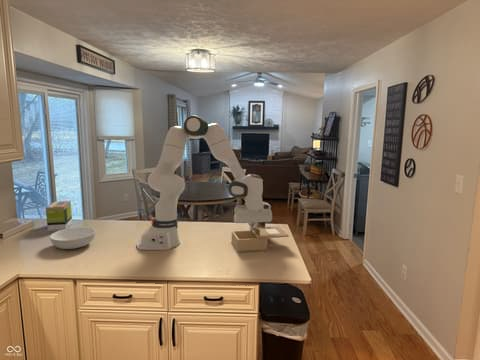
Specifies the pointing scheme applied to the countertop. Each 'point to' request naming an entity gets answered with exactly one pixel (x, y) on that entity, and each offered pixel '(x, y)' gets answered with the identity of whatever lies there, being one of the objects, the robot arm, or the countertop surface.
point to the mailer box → (248, 242)
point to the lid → (269, 232)
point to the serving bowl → (72, 237)
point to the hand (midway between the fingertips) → (252, 230)
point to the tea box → (59, 215)
